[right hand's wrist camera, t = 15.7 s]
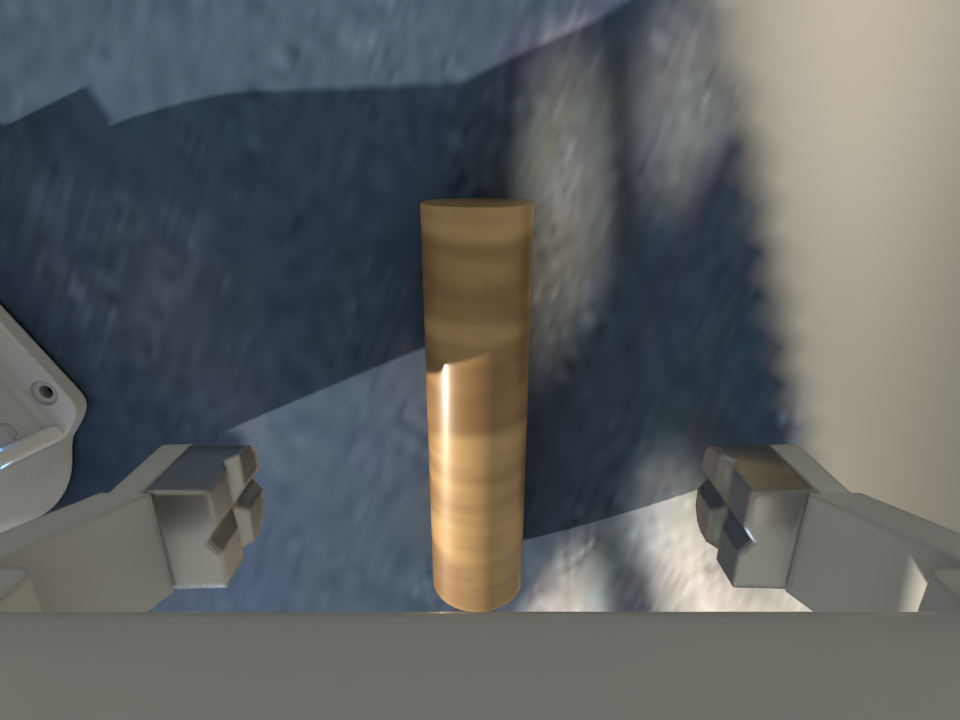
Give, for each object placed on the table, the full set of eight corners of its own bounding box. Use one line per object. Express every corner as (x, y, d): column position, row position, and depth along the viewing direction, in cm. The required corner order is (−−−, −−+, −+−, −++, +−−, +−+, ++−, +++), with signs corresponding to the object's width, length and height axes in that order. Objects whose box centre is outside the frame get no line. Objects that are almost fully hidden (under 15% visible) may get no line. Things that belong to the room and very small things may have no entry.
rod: (425, 197, 32) (414, 206, 26) (529, 197, 32) (540, 207, 26) (436, 548, 41) (430, 612, 35) (518, 548, 41) (525, 612, 35)
